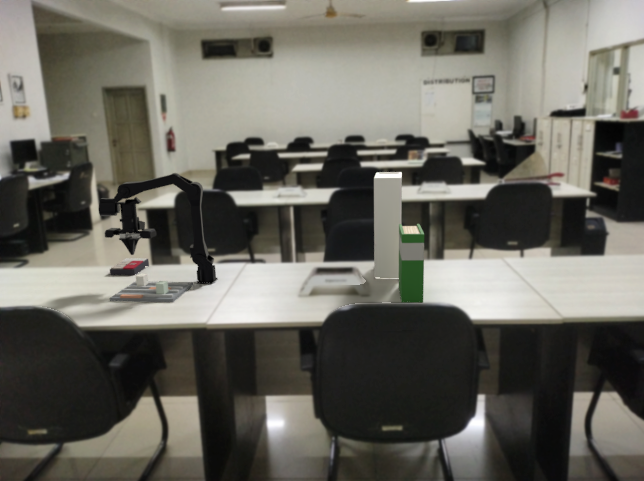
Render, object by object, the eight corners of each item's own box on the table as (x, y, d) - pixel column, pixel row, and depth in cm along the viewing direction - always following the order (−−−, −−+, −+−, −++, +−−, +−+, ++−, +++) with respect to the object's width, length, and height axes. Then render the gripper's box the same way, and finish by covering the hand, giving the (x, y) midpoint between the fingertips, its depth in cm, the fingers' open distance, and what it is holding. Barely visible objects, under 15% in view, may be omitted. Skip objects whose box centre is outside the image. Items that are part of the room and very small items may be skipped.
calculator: (108, 267, 224) (125, 257, 238) (110, 277, 225) (126, 266, 239) (133, 267, 223) (148, 256, 237) (135, 277, 224) (149, 266, 238)
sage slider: (168, 291, 195) (167, 281, 194) (164, 294, 192) (163, 284, 191) (160, 291, 196) (159, 280, 195) (156, 294, 192) (155, 283, 191)
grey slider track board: (193, 285, 208) (193, 280, 207) (173, 302, 188) (172, 296, 188) (135, 284, 211) (135, 279, 210) (109, 301, 192) (109, 295, 191)
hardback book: (398, 286, 199) (398, 224, 194) (418, 286, 198) (419, 223, 193) (401, 302, 182) (401, 234, 177) (423, 302, 181) (424, 234, 176)
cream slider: (148, 283, 206) (147, 273, 205) (144, 286, 202) (143, 276, 201) (141, 283, 206) (140, 273, 205) (136, 286, 202) (135, 276, 202)
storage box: (400, 279, 207) (401, 177, 198) (374, 279, 209) (373, 177, 200) (401, 265, 228) (401, 172, 219) (376, 264, 229) (376, 172, 220)
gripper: (161, 212, 209) (163, 250, 213) (117, 211, 212) (120, 249, 215) (148, 217, 199) (151, 257, 202) (102, 216, 201) (105, 255, 205)
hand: (132, 254), depth 206 cm, fingers closed
